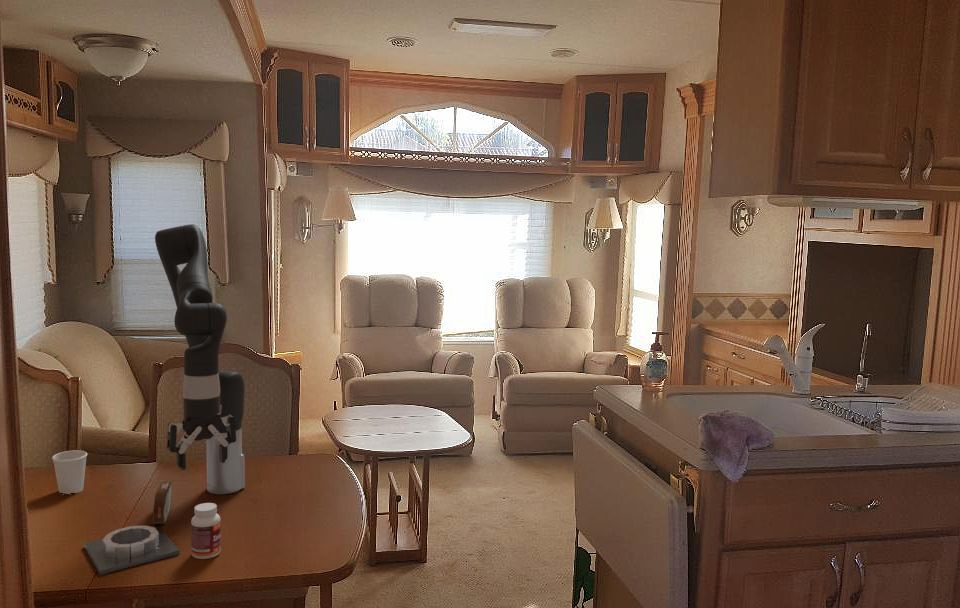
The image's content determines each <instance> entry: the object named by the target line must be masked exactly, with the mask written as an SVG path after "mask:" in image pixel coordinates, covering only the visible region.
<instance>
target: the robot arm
mask: <svg viewBox="0 0 960 608" xmlns="http://www.w3.org/2000/svg"><path fill="white" fill-rule="evenodd" d="M154 243H155V247H156V249H157V253H158V256H159V259H160V262H161V265H162V267H163V270H164V272H165V274H166V277H167V280H168V283H169V285H170V289H171V292H172V295H173V298H174V302H175V306H176V312H175V315H174V326H175V330H176V332H178V333H179V334H180V335H182V336H184V337H185V340H186V342H187V345H188V347H187V348H186V349H185V350H184V353H183V365H184V367H183V369H184V371H183V372H184V373H183V375H184V377H183V381H182V382H183V383H182V389H183V390H182V393H183V394H182V395H183V399H182V400H183V402H182V404H183V406H182V407H183V420H182V422H179V423H178V422H177V423H173V422H169V423H168V424H167V436H166V438H167V439H166V440H167V441H166V449H167V450H168V451H169V452H170V453H175V454H176V466H177V467H178V469H180V470H181V471H185V470H186V469H187V466H186V465H187V464H186V460H187V459H186V456H187V455H186V450H187V449H188V447H190V446H191V445H192V443H193V442H194V441H196V442H199V441H202V440H206V441H205V442H206V443H205V444H206V445H205V446H206V450H205V451H206V489H207V490H206V491H207V492H208V493H210V494H214V495H228V494H232V493H237V492H239V491H240V490H241V489H245V488H246V478H245V477H246V469H245V468H246V467H245V466H246V465H245V463H246V462H245V461H246V459H245V458H246V457H245V454H243V448H242V447H243V444H242V442H243V440H242V438H243V437H242V436H243V434H242V433H243V432H242V426H243V425H242V423H243V417H244V412H245V411H244V410H245V380H244V378H243V375H242V374H241V373H239V372H237V371H229V370H219V354H220V348H221V343H222V339H223V336H224V332H225V328H226V326H227V322H228V321H227V320H228V314H227V310H226V309H225V307H224V306H223V305H222V304H220V303H219V302H214V301H213V300H214V299H213V293H212V289H211V286H210V285H211V284H210V282H209V276H208V274H209V273H208V270H209V269H208V265H209V264H208V251H207V244H206V241H205V238H204V234H203V232H202V230H201V228H200V226H198V225H196V224H194V223H193V224H184V225H179V226H174V227H170V228H165V229H161V230H158V231H156V233H155V235H154ZM184 264H185V266H184V267H183V268H182V270H180V267H179V266H181V265H184ZM181 429H182V430H183V431H184V434H183V435H182V437H181V438H180V441H179V442H178V444H177V434H180V431H181Z"/></svg>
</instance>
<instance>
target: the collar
mask: <svg viewBox="0 0 960 608" xmlns="http://www.w3.org/2000/svg"><path fill="white" fill-rule="evenodd" d="M83 545H84V546H83V547H84V549H85V551H86V553H87V555H88V556H89V558H90V560H91V562H92V563H93V565H94V566H95V569H96V568H97V569H96V571H97V570H98V571H97V573H98V575H99V576H102V575H106V574H110V572H111V573H113V571H115V572H118V571H121V569H122V570H125V569H124V568H126V569H129V568H128V567H130V568H132V567H131V566H134V567H136V566H135V565H138V566H141V565H145V564H149V563H152V562H156V561H160V560H164V559H167V558H171V557H175V556H179V555H180V549H178V547H177V546H176V545H175V543H174V542H173V541H172V540H171V539H170V538H169V537H168V535H167V534H166V533H165V531H164V530H163V529H162V528H161V527H160V526H159V525H157V526H156V525H155V526H149V525H132V526H131V525H130V526H126V527H123V528H122V527H121V528H118V529H115V530H113V531H110V532H109V533H107V534H106V535H105V536H104V537H103V538H99V539H95V540H91V541H87V542H83ZM140 564H141V565H140ZM117 570H118V571H117Z"/></svg>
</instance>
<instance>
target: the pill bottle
mask: <svg viewBox="0 0 960 608" xmlns="http://www.w3.org/2000/svg"><path fill="white" fill-rule="evenodd" d="M217 507H218V505H217V504H216V503H214V502H213V503H212V502H204V503H199V504H197V505H195V506H194V510H193V511H194V512H193V513H194V516H193V517H192V518H191V520H190V521H191V523H190V529H191V530H190V534H191V537H190V539H191V540H190V542H191V543H190V546H191V547H190V548H191V551H190V552H191V556H192V557H193V558H194V559H196V560H197V559H198V560H208V559H212V558H214V557H217V556H218V555H220V553H221V551H222V546H221V545H222V543H221V539H222V537H221V535H222V533H221V525H222V524H221V516H220V514H218V513H217V511H218V508H217Z"/></svg>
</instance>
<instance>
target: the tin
mask: <svg viewBox="0 0 960 608" xmlns="http://www.w3.org/2000/svg"><path fill="white" fill-rule="evenodd" d="M172 487H173V481H172V480H169V479H160V482H159V484H158V486H157V489H156V491H155V494H154V500H153V510H152V524H153V525H163V524H166V522H167V519H168V517H169V514H170V510H171V504H172Z"/></svg>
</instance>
